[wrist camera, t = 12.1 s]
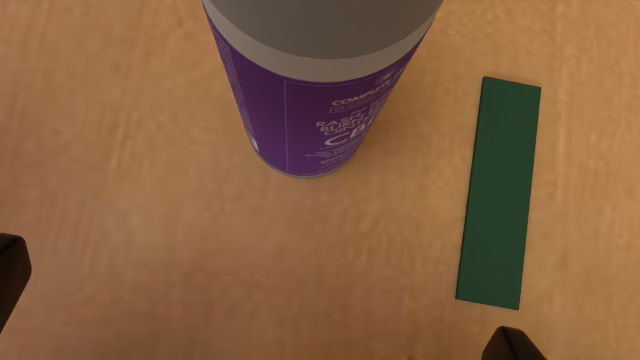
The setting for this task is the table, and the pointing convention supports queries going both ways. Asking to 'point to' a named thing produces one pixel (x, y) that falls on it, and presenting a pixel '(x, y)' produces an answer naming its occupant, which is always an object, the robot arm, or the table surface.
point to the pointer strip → (499, 194)
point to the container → (314, 71)
